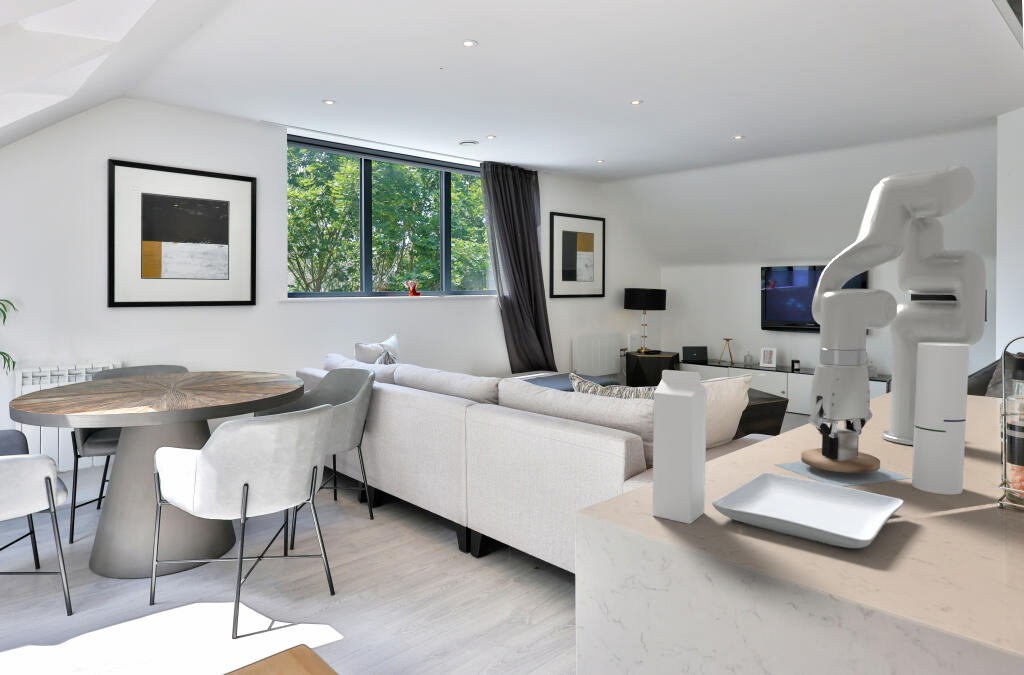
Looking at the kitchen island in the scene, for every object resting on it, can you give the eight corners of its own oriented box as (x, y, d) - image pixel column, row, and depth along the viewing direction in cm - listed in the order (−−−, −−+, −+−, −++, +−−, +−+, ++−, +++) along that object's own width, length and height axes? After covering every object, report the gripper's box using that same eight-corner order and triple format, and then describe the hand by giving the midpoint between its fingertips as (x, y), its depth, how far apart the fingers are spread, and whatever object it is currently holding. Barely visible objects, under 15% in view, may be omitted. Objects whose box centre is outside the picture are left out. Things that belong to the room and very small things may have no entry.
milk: (667, 505, 100) (669, 367, 99) (705, 513, 96) (707, 370, 95) (651, 516, 95) (653, 371, 94) (690, 524, 92) (693, 374, 90)
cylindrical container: (970, 498, 103) (978, 345, 101) (922, 495, 104) (928, 345, 102) (949, 485, 110) (956, 342, 108) (904, 482, 111) (910, 341, 109)
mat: (843, 459, 127) (843, 457, 127) (911, 480, 113) (911, 477, 112) (774, 467, 121) (774, 464, 121) (836, 490, 107) (836, 487, 107)
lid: (839, 450, 125) (839, 420, 125) (897, 468, 113) (898, 435, 112) (785, 457, 121) (786, 426, 121) (840, 476, 109) (841, 442, 108)
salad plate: (869, 565, 79) (870, 538, 78) (708, 523, 93) (708, 501, 93) (905, 520, 94) (906, 497, 94) (763, 490, 109) (763, 470, 108)
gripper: (860, 354, 122) (858, 447, 123) (790, 358, 116) (788, 455, 118) (895, 358, 114) (891, 456, 116) (821, 363, 109) (819, 466, 111)
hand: (839, 455), depth 117 cm, fingers closed on lid, 4 cm apart
